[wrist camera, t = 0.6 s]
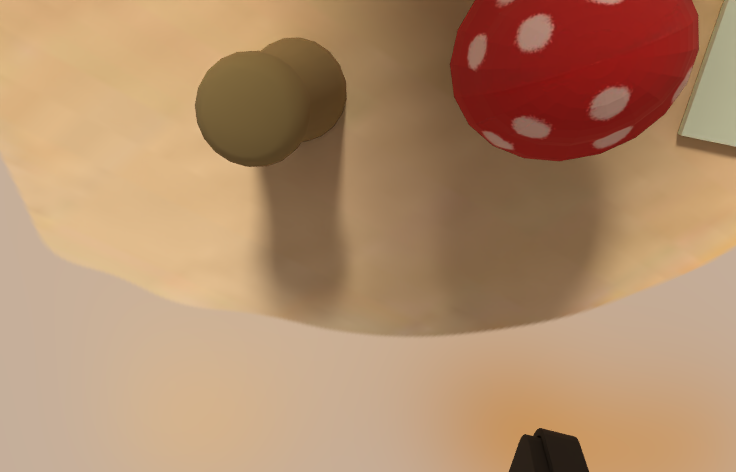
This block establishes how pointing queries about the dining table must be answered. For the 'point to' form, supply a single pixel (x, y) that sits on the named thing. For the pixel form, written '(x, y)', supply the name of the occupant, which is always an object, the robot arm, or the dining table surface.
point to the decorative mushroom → (571, 71)
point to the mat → (715, 86)
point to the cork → (270, 101)
